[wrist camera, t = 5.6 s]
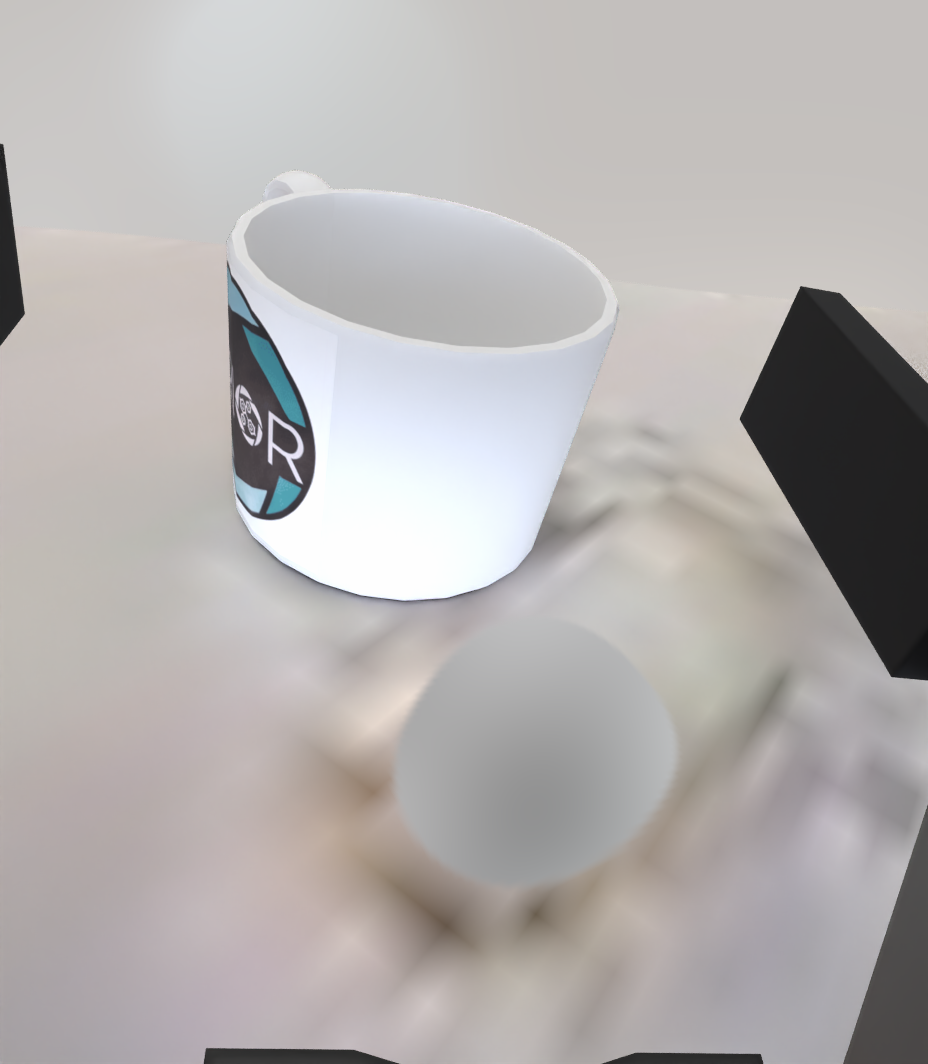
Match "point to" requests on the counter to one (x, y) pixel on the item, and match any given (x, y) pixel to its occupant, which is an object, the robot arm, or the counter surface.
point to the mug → (403, 383)
